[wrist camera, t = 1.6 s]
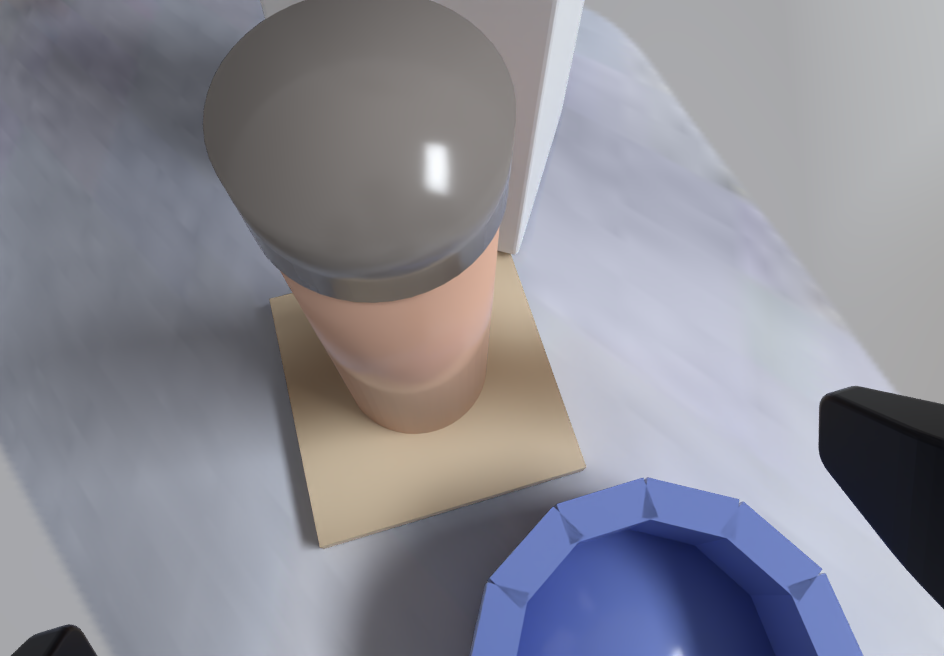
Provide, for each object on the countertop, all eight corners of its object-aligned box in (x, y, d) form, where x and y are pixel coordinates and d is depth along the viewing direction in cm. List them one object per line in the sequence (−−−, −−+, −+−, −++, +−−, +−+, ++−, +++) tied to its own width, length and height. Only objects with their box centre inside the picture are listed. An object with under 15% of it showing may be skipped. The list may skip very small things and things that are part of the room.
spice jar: (508, 413, 21) (559, 196, 9) (361, 455, 20) (229, 280, 9) (466, 281, 22) (466, -36, 11) (328, 318, 22) (183, 24, 11)
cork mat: (583, 470, 21) (586, 467, 20) (323, 549, 20) (319, 547, 19) (503, 246, 23) (504, 238, 23) (274, 306, 23) (269, 298, 22)
